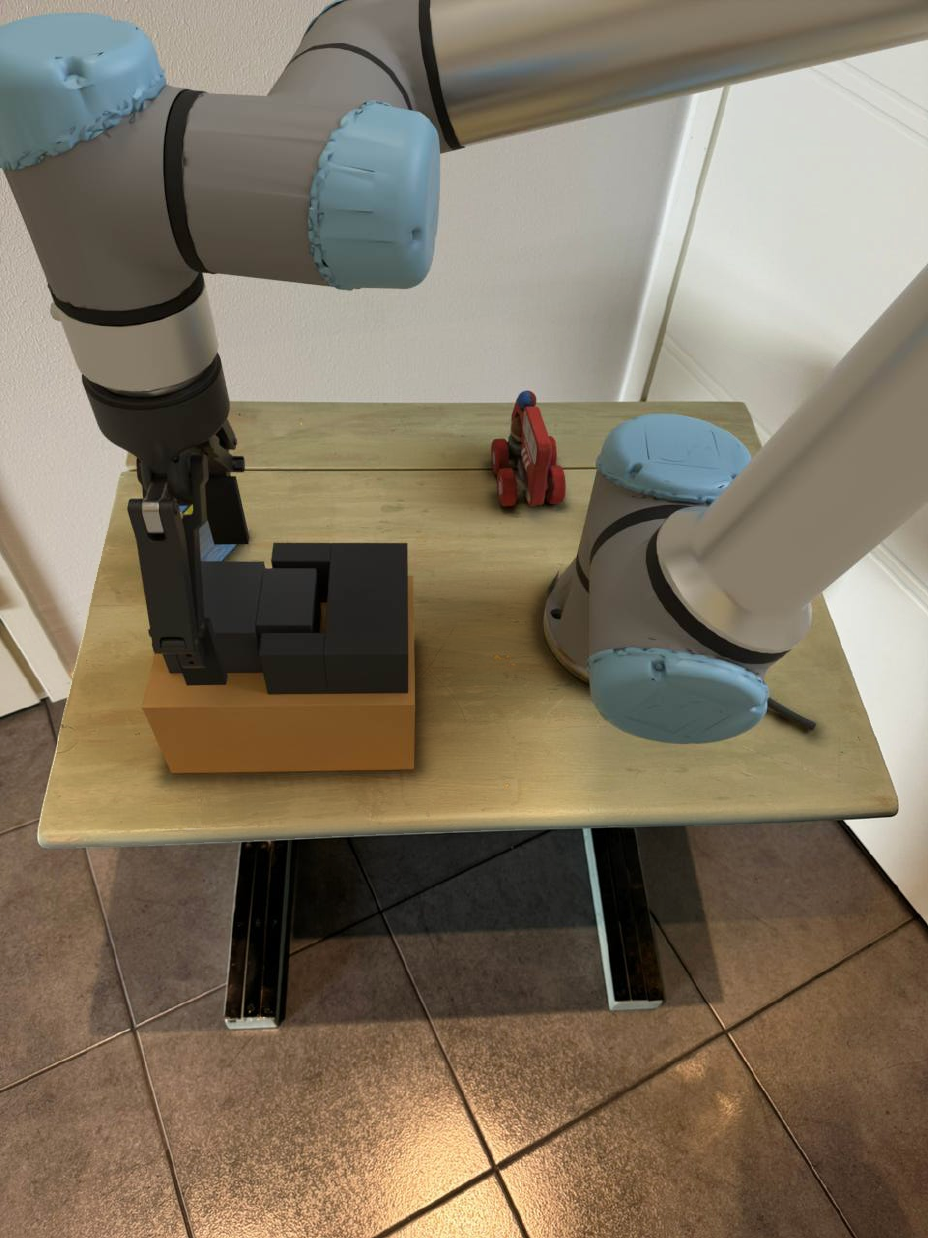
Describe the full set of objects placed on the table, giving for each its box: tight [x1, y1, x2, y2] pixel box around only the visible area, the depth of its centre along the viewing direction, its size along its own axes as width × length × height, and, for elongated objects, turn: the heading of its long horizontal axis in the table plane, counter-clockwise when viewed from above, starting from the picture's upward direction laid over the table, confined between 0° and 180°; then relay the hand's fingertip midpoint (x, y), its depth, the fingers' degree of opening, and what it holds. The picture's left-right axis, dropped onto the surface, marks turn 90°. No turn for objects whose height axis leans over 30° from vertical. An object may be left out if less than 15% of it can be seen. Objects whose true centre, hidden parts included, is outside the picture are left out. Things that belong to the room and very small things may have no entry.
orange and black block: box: [141, 542, 416, 774], centre depth 68 cm, size 20×13×15 cm, turn 93°
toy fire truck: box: [490, 390, 567, 507], centre depth 90 cm, size 7×12×10 cm, turn 7°
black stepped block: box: [162, 560, 321, 673], centre depth 64 cm, size 11×7×5 cm, turn 93°
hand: (220, 606), depth 63 cm, fingers open, 13 cm apart
